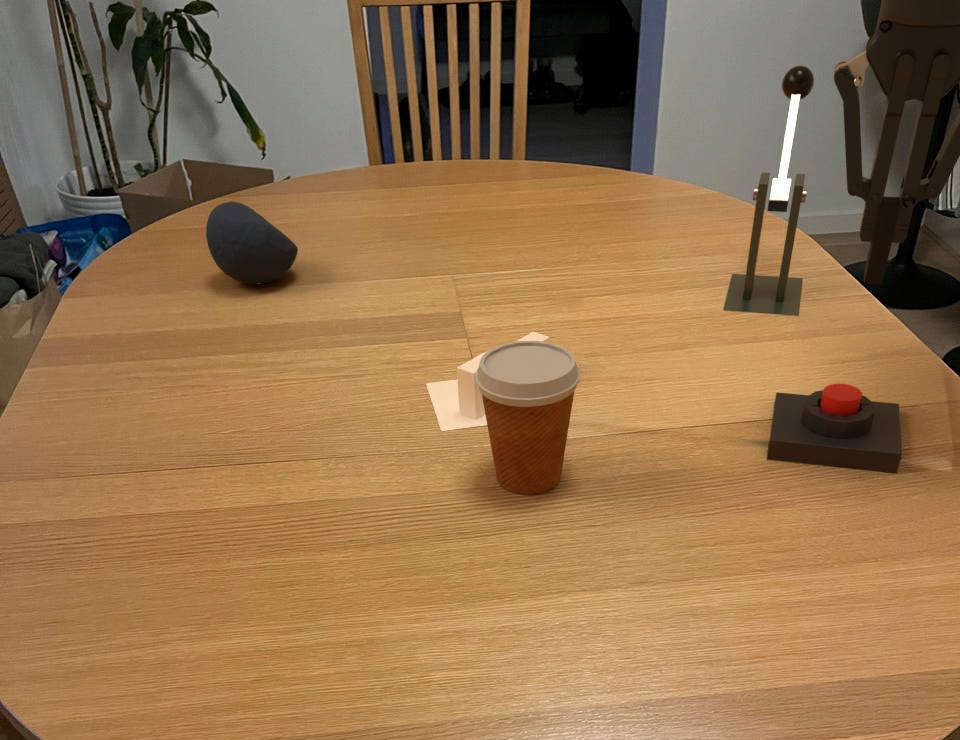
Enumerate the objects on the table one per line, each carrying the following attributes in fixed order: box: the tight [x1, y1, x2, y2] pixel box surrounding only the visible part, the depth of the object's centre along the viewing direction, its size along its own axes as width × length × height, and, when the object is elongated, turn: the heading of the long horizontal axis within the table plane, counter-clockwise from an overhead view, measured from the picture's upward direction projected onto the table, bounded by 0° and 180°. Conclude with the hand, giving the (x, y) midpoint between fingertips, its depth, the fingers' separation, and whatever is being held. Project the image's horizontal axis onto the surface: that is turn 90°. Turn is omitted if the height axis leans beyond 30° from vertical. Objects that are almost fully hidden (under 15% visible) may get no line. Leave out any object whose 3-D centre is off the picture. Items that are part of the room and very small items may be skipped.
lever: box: [767, 64, 815, 213], centre depth 114 cm, size 17×4×4 cm
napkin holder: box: [425, 331, 551, 432], centre depth 104 cm, size 15×11×6 cm
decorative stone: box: [205, 200, 299, 285], centre depth 131 cm, size 12×12×10 cm
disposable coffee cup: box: [475, 340, 581, 495], centre depth 90 cm, size 10×10×12 cm
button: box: [820, 383, 863, 416], centre depth 93 cm, size 4×4×2 cm
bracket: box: [722, 172, 808, 317], centre depth 117 cm, size 12×9×15 cm
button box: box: [766, 389, 903, 474], centre depth 95 cm, size 12×10×4 cm
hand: (873, 277), depth 86 cm, fingers closed
